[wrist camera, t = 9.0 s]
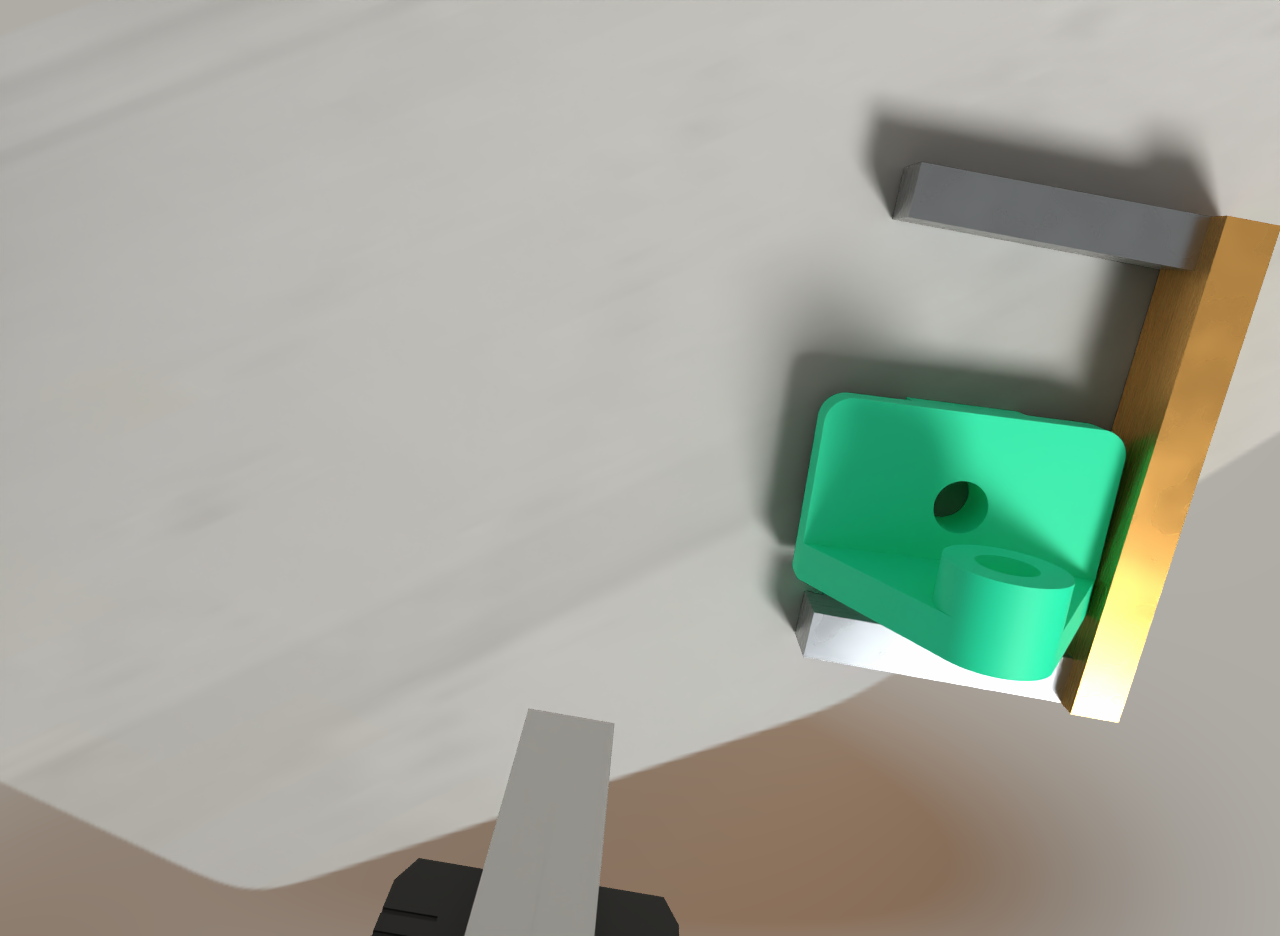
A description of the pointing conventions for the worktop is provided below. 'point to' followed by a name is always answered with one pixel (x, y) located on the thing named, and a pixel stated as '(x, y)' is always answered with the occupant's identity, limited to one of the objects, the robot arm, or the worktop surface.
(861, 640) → the dock
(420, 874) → the robot arm
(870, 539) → the camera mount
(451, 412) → the worktop surface
